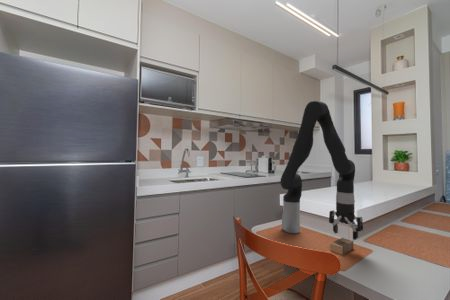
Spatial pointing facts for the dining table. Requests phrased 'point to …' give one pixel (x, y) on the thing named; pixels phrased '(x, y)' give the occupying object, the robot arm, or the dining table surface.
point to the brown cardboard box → (341, 246)
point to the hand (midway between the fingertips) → (345, 235)
